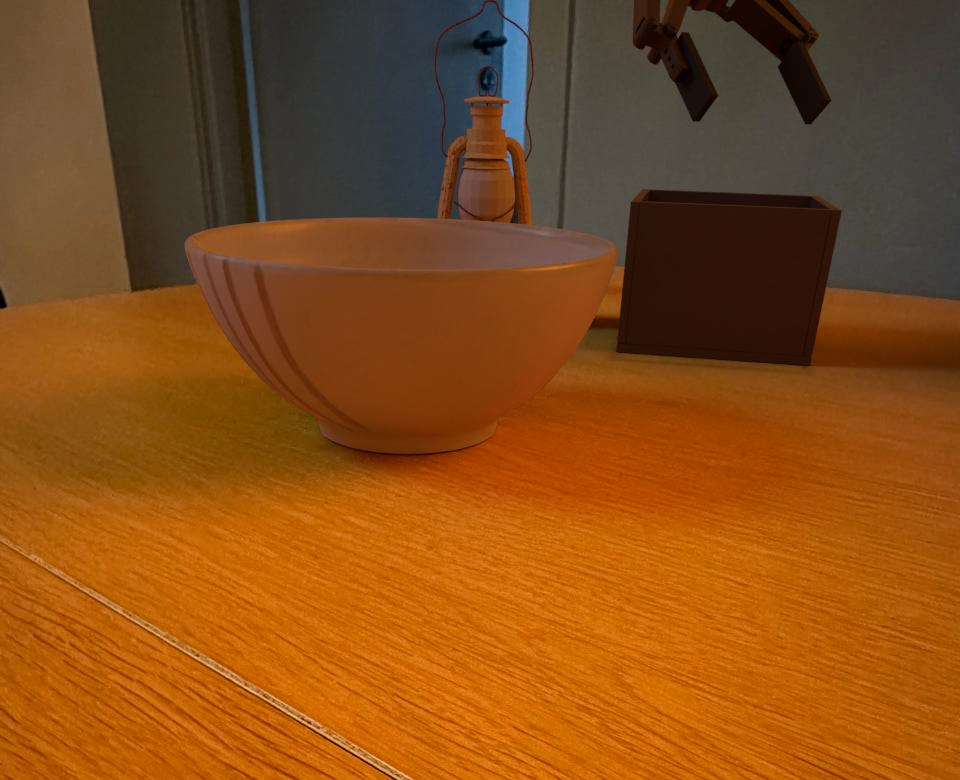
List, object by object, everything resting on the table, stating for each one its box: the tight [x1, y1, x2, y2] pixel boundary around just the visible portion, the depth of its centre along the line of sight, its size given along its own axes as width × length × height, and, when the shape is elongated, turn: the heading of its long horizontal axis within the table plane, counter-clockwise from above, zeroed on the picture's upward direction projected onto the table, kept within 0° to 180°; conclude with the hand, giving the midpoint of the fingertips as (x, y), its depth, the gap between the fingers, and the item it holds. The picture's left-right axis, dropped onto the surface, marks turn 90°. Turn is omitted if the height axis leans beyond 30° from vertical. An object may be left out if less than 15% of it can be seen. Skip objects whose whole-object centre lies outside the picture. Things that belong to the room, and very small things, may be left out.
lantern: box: [434, 0, 535, 225], centre depth 105 cm, size 12×10×30 cm
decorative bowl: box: [184, 217, 619, 455], centre depth 60 cm, size 27×27×12 cm
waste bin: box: [615, 188, 843, 367], centre depth 87 cm, size 18×18×13 cm
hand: (764, 111), depth 79 cm, fingers open, 13 cm apart
